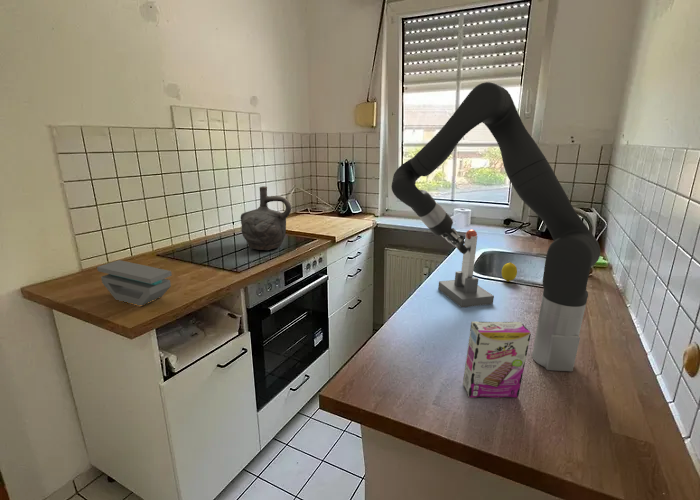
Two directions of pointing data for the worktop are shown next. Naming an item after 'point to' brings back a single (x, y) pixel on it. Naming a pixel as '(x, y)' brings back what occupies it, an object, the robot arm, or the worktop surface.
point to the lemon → (509, 271)
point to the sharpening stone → (134, 281)
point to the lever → (468, 256)
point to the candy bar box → (495, 359)
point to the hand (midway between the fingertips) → (464, 251)
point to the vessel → (265, 223)
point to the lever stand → (465, 292)
